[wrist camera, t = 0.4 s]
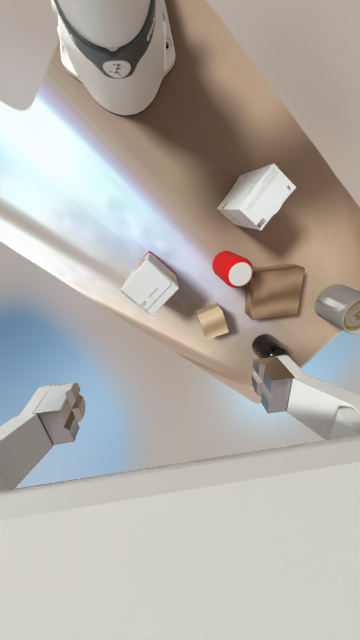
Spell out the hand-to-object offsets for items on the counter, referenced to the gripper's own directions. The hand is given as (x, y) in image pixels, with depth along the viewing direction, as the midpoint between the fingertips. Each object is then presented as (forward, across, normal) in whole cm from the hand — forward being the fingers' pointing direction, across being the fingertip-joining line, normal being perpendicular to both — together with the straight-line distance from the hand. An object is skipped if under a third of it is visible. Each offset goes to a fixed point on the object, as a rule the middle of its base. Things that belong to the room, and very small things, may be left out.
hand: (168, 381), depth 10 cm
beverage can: (+45, -16, +4) cm, 48 cm away
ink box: (+45, +2, +5) cm, 45 cm away
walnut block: (+45, -28, +12) cm, 54 cm away
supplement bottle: (+45, -28, +29) cm, 61 cm away
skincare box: (+45, -19, -9) cm, 50 cm away
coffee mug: (+45, -46, +17) cm, 67 cm away
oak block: (+45, -12, +18) cm, 50 cm away
